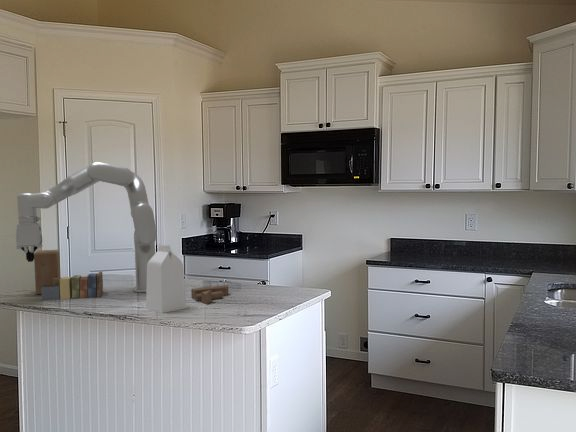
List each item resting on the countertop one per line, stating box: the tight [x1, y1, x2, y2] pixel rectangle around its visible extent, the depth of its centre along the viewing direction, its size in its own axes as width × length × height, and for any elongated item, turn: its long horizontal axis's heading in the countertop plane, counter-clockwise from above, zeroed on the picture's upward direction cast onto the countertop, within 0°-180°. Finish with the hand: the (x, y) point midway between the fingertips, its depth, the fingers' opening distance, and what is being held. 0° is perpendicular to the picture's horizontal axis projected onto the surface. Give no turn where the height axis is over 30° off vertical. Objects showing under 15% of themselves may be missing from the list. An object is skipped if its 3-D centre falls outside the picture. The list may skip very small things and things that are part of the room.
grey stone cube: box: [40, 284, 61, 301], centre depth 247 cm, size 8×6×6 cm
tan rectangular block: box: [59, 276, 73, 300], centre depth 249 cm, size 4×6×9 cm, turn 11°
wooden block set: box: [190, 284, 229, 305], centre depth 239 cm, size 17×6×18 cm
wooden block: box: [33, 249, 61, 295], centre depth 262 cm, size 10×10×20 cm
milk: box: [145, 243, 188, 314], centre depth 222 cm, size 12×12×26 cm
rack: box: [53, 271, 104, 300], centre depth 252 cm, size 22×12×10 cm, turn 102°
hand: (30, 261), depth 245 cm, fingers closed
